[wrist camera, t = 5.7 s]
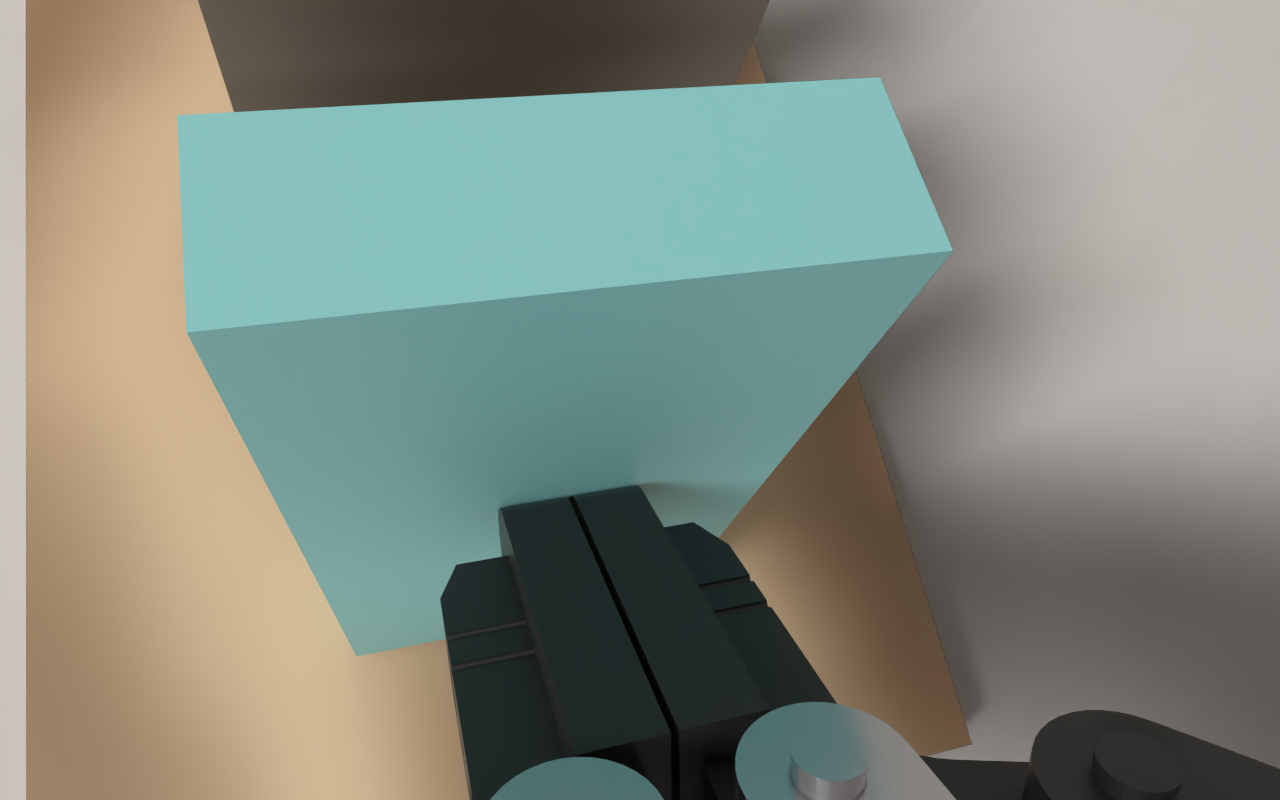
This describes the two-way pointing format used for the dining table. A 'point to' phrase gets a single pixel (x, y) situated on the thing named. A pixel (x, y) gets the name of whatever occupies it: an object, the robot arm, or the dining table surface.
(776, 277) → the domino
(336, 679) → the board
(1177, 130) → the dining table surface
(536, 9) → the domino
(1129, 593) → the dining table surface
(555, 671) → the robot arm
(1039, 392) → the dining table surface
